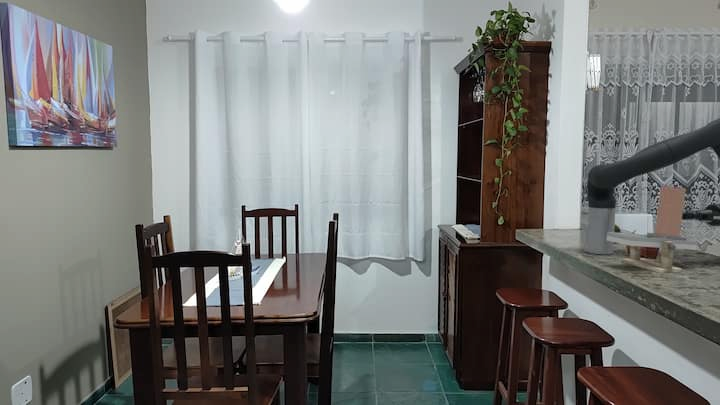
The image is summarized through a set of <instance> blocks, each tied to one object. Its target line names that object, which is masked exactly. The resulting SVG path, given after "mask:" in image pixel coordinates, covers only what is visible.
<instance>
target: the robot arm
mask: <svg viewBox="0 0 720 405" xmlns="http://www.w3.org/2000/svg"><path fill="white" fill-rule="evenodd" d="M708 148H711V149H712V150H713V152H714V153H715V155H716V156H717V157H718V159H719V160H720V117H719V118H716V119H715V120H712V121H711V122H709V123H707V124H705V125H704V126H702V127H700V128H698V129H695V130H692V131H690V132H685V133H682V134H679V135H676V136H673V137H670V138H669V137H668V138H665V139H664V140H661V141H659V142H655V143H653V144H651V145H649V146H647V147H645V148H643V149H641V150H639V151H637V153H635V154H633V155H631V156H630V157H628V158H625V159H621V160H620V161H617V162H612V163H609V164H608V163H607V164H596V165H594V166H593V167H591V168H590V169H589V171H588V174H587V180H586V181H587V185H586V189H587V190H586V192H587V193H586V197H587V199H586V200H587V202H588V204H587V205H588V207H587V225H586V226H585V227H584V241H583V242H584V244H583V251H584V252H585V253H588V254H589V253H590V254H594V255H613V254H614V249H615V248H614V244H615V242H612V241H607V240H606V239H607V232H614V227H615V225H616V224H615V222H616V205H617V204H616V203H617V202H616V199H615V197H614V188H615V187H618V186H620V185H621V184H623V183H625V182H627V181H630V180H632V179H634V178H637V177H638V176H639V177H640V176H641V175H642V176H643V175H646V174H649V173H652V172H655V171H658V170H661V169H664V168H667V167H669V166H672V165H675V164H676V163H679V162H681V161H684V160H685V159H687V158H689V157H691V156H693V155H695V154H697V153H699V152H701V151H703V150H706V149H708ZM685 220H686V221H687V220H688V221H689V220H690V221H698V222H705V223H706V224H707V225H709V226H712V227H720V203H712V204H709V205H707V206H705V208H699V209H693V210H691V209H687V210H685V211H684V212H683V214H682V221H685Z"/></svg>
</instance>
